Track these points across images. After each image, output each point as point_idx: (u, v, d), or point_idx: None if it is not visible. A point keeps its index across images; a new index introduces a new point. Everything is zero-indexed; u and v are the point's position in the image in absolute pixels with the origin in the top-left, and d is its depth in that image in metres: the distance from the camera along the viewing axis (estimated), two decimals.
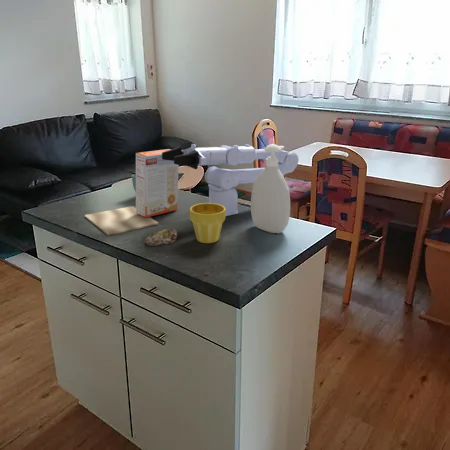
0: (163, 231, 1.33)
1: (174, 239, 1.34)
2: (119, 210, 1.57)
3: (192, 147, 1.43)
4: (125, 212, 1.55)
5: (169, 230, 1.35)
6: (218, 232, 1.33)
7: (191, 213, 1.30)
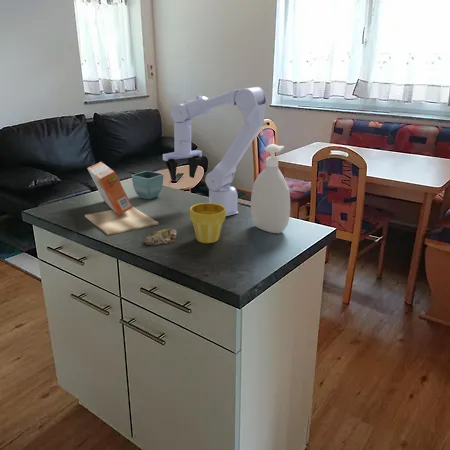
0: (163, 231, 1.34)
1: (173, 239, 1.34)
2: None
3: None
4: (125, 212, 1.55)
5: (169, 230, 1.36)
6: (218, 232, 1.33)
7: (191, 213, 1.30)
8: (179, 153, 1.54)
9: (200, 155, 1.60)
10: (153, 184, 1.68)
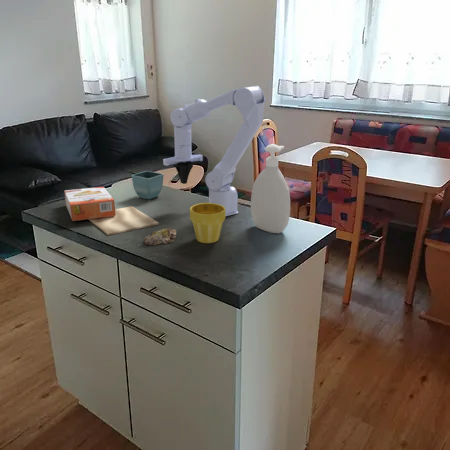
0: (162, 231, 1.34)
1: (173, 239, 1.34)
2: (119, 210, 1.57)
3: None
4: (125, 212, 1.55)
5: (168, 230, 1.36)
6: (218, 232, 1.33)
7: (191, 213, 1.30)
8: (179, 157, 1.54)
9: (201, 159, 1.60)
10: (153, 184, 1.68)
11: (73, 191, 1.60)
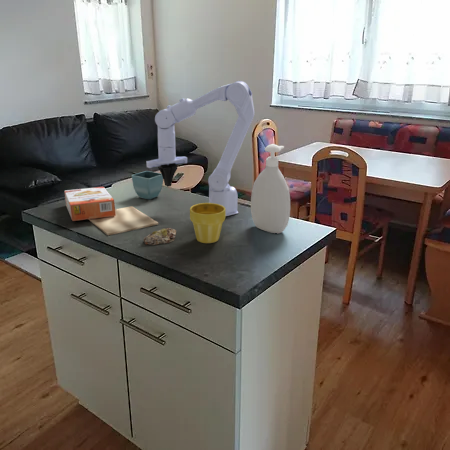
0: (162, 230, 1.34)
1: (173, 238, 1.34)
2: (119, 210, 1.57)
3: None
4: (125, 212, 1.55)
5: (168, 229, 1.36)
6: (218, 232, 1.33)
7: (191, 213, 1.30)
8: (163, 160, 1.51)
9: (185, 161, 1.57)
10: (153, 184, 1.68)
11: (73, 191, 1.60)
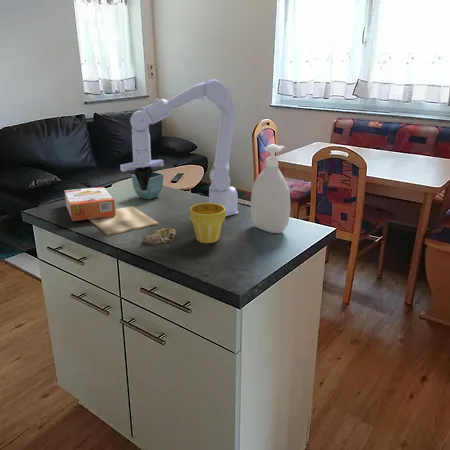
0: (161, 230, 1.34)
1: (172, 238, 1.35)
2: (119, 210, 1.57)
3: None
4: (125, 212, 1.55)
5: (168, 229, 1.36)
6: (218, 232, 1.33)
7: (191, 213, 1.30)
8: (138, 163, 1.46)
9: (161, 165, 1.52)
10: (153, 184, 1.68)
11: (73, 191, 1.60)
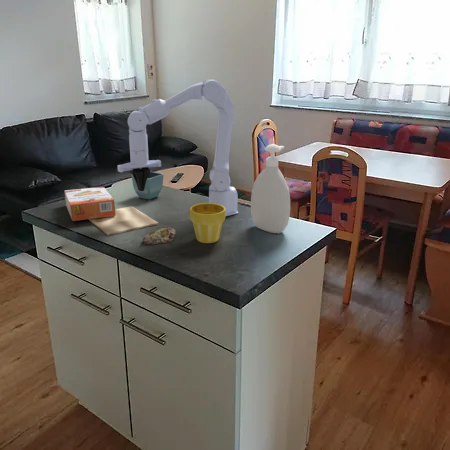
0: (161, 230, 1.34)
1: (172, 238, 1.35)
2: (119, 210, 1.57)
3: None
4: (125, 212, 1.55)
5: (167, 229, 1.36)
6: (218, 232, 1.33)
7: (191, 213, 1.30)
8: (135, 163, 1.45)
9: (159, 165, 1.51)
10: (153, 184, 1.68)
11: (73, 191, 1.60)
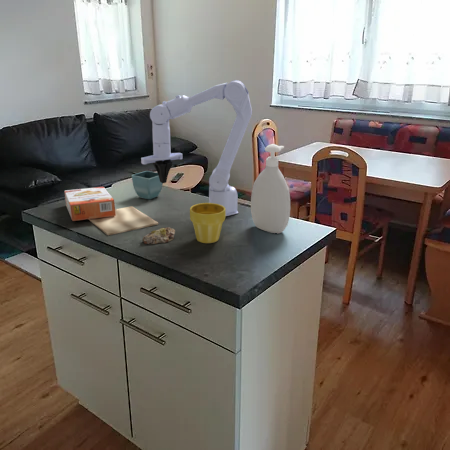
0: (161, 230, 1.34)
1: (172, 238, 1.35)
2: (119, 210, 1.57)
3: None
4: (125, 212, 1.55)
5: (167, 229, 1.36)
6: (218, 232, 1.33)
7: (191, 213, 1.30)
8: (158, 156, 1.49)
9: (180, 158, 1.55)
10: (153, 184, 1.68)
11: (73, 191, 1.60)
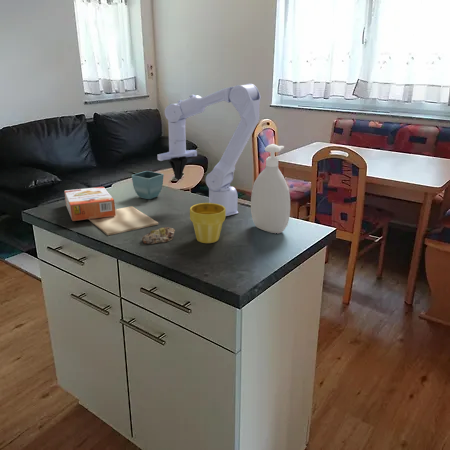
0: (160, 229, 1.35)
1: (171, 237, 1.35)
2: (119, 210, 1.57)
3: None
4: (125, 212, 1.55)
5: (166, 228, 1.37)
6: (218, 232, 1.33)
7: (191, 213, 1.30)
8: (174, 153, 1.54)
9: (195, 155, 1.60)
10: (153, 184, 1.68)
11: (73, 191, 1.60)
